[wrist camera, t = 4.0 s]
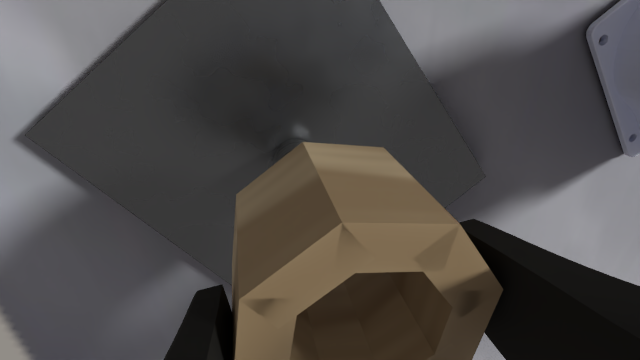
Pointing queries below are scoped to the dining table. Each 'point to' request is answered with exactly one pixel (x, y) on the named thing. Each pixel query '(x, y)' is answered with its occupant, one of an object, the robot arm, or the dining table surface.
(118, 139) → the hub
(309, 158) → the ring
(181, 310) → the dining table surface
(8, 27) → the dining table surface
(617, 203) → the dining table surface
